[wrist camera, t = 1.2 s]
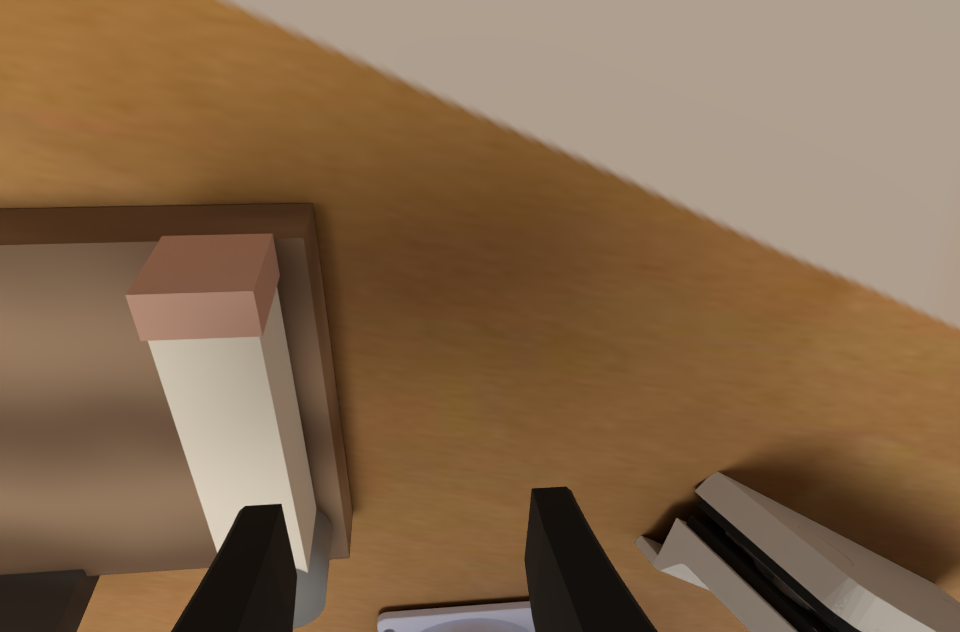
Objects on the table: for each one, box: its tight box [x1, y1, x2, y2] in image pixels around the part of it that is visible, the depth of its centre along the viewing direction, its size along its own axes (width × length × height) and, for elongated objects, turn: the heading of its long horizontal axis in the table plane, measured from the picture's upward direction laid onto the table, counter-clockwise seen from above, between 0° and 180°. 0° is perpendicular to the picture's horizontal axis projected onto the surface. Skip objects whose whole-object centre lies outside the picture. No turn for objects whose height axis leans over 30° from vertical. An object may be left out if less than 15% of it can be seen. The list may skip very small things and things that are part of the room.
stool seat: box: [0, 203, 353, 632], centre depth 19 cm, size 14×16×5 cm
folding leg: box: [125, 233, 332, 629], centre depth 19 cm, size 13×3×3 cm, turn 178°
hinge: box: [635, 472, 960, 632], centre depth 27 cm, size 17×5×10 cm, turn 54°
